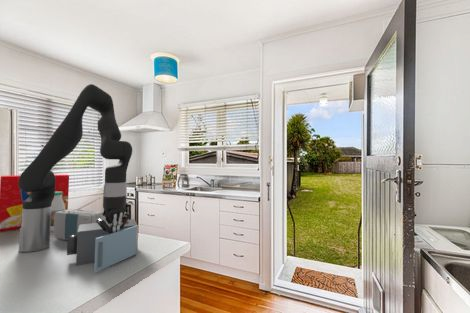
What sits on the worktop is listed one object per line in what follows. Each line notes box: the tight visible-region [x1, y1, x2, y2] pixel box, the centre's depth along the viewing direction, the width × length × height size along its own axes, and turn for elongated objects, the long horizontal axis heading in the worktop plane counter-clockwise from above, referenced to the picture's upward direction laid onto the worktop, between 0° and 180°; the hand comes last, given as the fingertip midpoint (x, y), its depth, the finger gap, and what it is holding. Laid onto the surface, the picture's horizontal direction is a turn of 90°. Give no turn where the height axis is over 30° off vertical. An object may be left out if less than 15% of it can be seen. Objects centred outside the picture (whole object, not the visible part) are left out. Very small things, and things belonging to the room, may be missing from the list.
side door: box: [93, 224, 139, 273], centre depth 82 cm, size 17×2×11 cm, turn 156°
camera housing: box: [66, 218, 138, 266], centre depth 89 cm, size 23×10×13 cm, turn 121°
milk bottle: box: [50, 191, 65, 232], centre depth 119 cm, size 8×8×20 cm
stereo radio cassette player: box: [53, 197, 104, 241], centre depth 106 cm, size 21×8×20 cm, turn 76°
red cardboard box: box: [0, 174, 70, 233], centre depth 125 cm, size 28×8×28 cm, turn 134°
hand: (113, 241), depth 82 cm, fingers closed
